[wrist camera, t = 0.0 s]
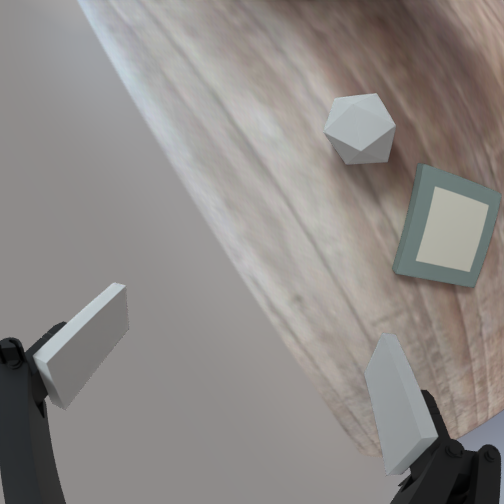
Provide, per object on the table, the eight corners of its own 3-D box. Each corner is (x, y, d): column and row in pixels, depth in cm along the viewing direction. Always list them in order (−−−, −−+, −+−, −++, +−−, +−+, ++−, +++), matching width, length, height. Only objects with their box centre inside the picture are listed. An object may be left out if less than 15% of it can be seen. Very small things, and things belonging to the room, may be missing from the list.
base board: (417, 163, 35) (424, 163, 33) (494, 191, 34) (502, 194, 32) (392, 268, 40) (396, 273, 39) (468, 282, 39) (474, 288, 37)
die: (344, 176, 38) (407, 178, 29) (298, 142, 33) (363, 133, 25) (360, 126, 38) (418, 120, 29) (318, 89, 33) (379, 72, 25)
